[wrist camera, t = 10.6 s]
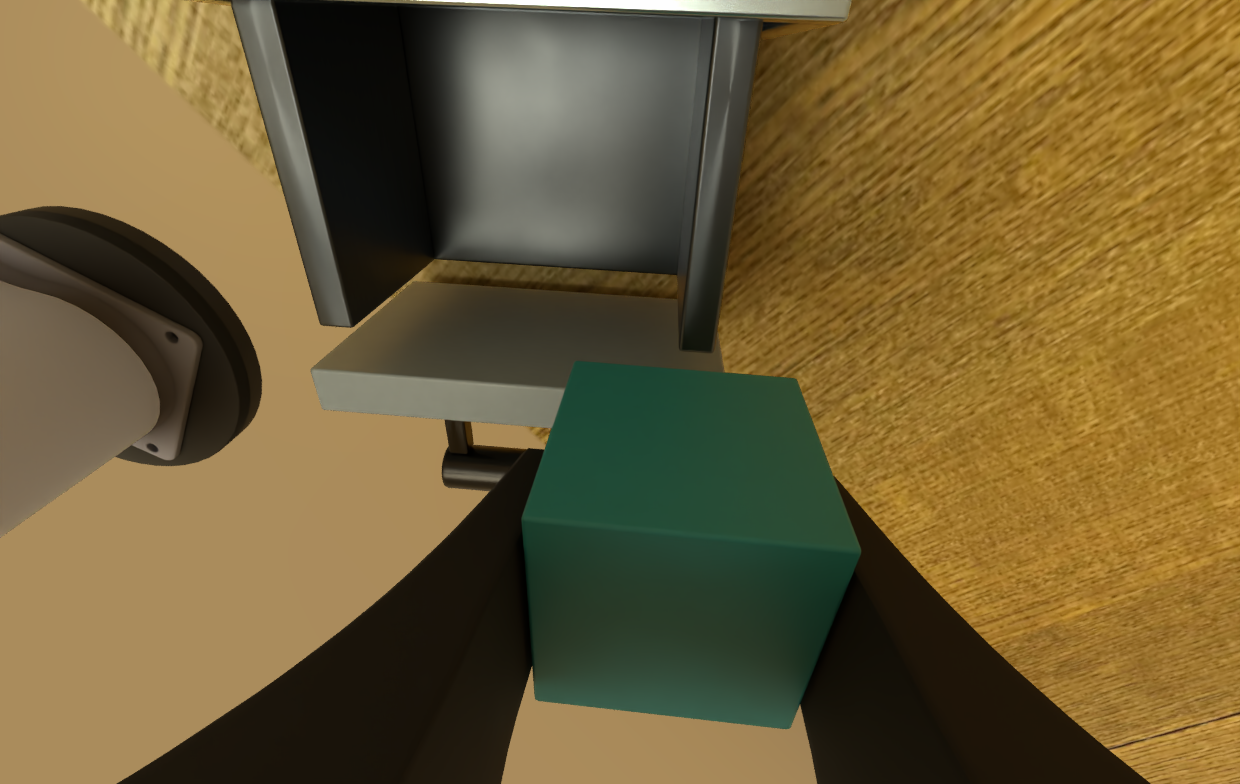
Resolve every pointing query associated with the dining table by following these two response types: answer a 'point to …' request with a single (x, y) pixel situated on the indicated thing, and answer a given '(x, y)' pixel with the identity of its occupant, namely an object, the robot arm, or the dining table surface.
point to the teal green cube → (683, 545)
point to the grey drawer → (500, 196)
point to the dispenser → (649, 9)
